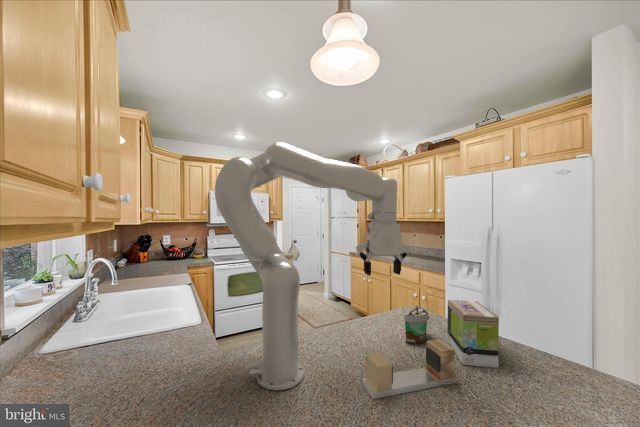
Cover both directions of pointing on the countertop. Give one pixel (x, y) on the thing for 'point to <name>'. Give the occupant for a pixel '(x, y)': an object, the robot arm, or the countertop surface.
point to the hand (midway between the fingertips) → (382, 274)
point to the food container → (416, 325)
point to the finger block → (440, 358)
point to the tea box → (473, 333)
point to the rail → (397, 378)
